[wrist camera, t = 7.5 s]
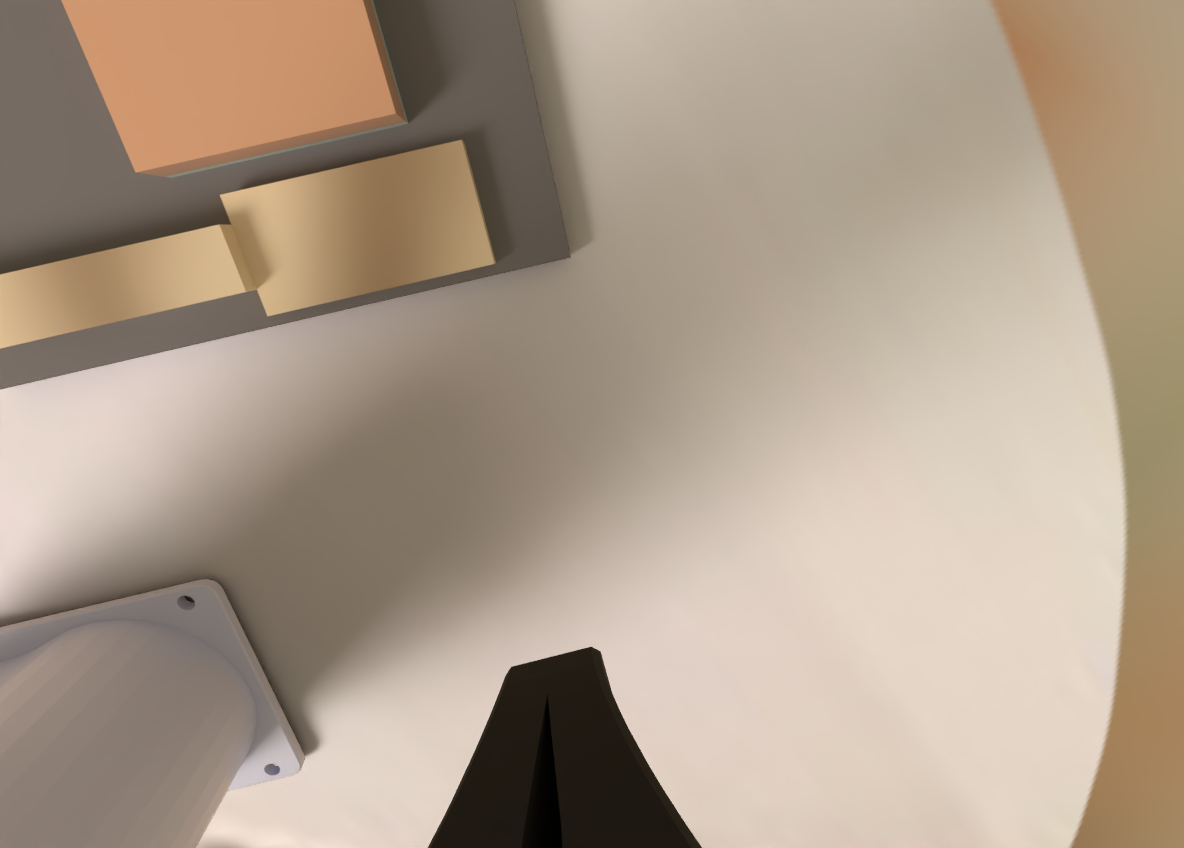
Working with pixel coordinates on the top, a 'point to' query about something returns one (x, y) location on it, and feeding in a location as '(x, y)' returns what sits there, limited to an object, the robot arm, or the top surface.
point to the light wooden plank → (273, 248)
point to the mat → (252, 169)
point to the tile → (236, 76)
